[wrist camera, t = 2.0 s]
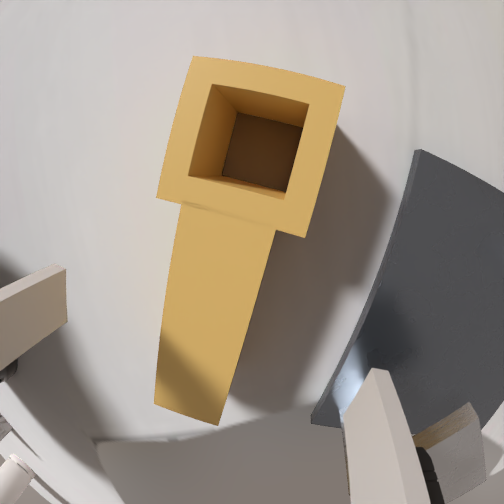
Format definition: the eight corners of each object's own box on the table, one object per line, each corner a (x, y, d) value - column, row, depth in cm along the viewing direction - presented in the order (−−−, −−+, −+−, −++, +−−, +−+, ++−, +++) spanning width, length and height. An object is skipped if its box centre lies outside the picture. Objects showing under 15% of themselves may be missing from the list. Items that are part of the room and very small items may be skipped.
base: (310, 415, 21) (310, 531, 11) (414, 150, 15) (539, 134, 5) (475, 426, 20) (510, 497, 9) (568, 243, 14) (645, 279, 4)
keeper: (412, 318, 18) (478, 417, 8) (445, 396, 19) (486, 480, 10) (316, 374, 20) (323, 492, 10) (367, 438, 21) (382, 530, 12)
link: (223, 91, 16) (193, 56, 10) (328, 115, 16) (345, 86, 10) (169, 347, 21) (135, 396, 15) (251, 372, 21) (237, 431, 15)
